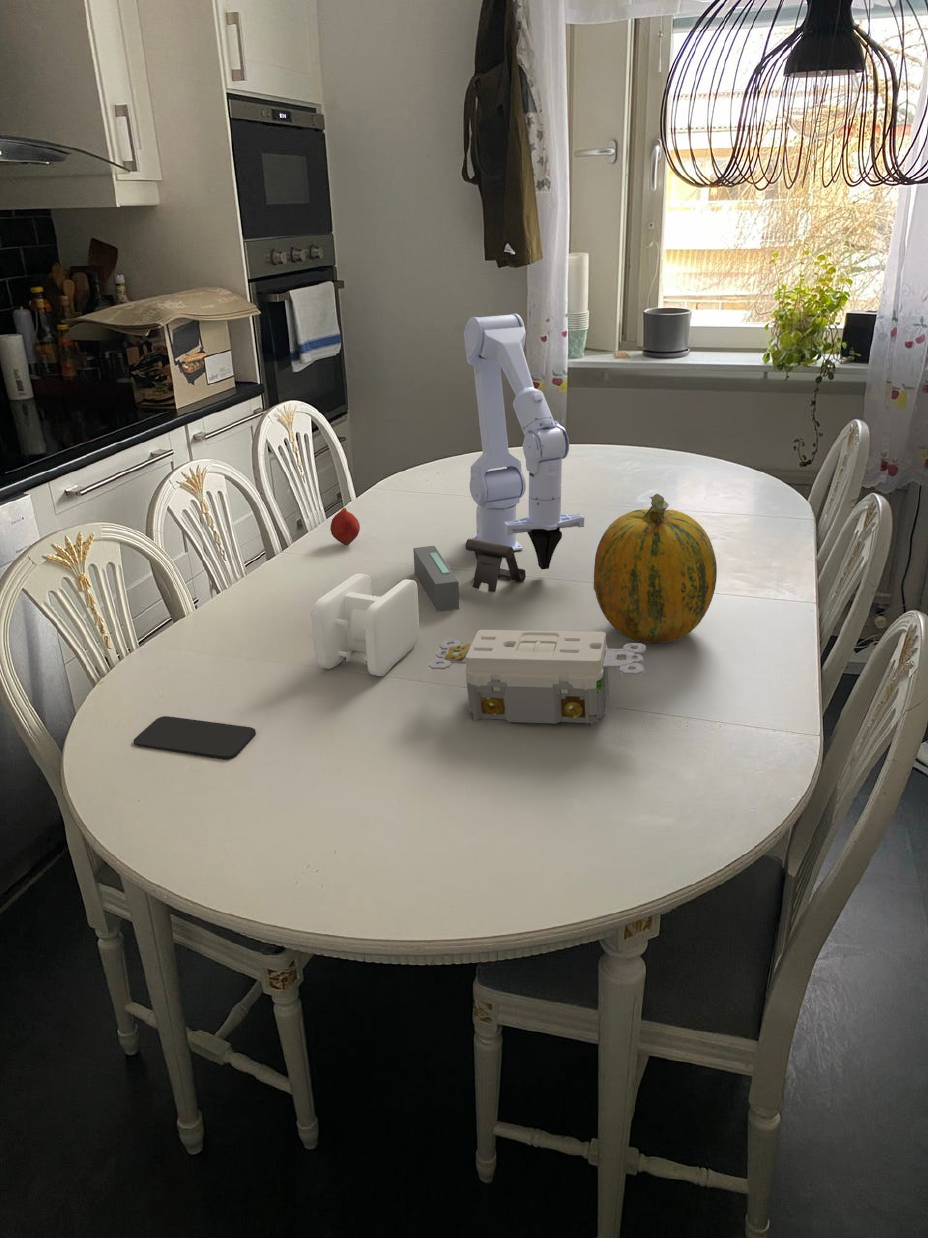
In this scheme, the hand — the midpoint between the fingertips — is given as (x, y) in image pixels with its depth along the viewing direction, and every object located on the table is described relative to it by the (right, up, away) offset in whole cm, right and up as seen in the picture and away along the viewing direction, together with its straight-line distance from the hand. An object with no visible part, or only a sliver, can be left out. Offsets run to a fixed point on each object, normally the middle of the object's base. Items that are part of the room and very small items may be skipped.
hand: (543, 567), depth 172 cm
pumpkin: (+15, -12, -21) cm, 28 cm away
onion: (-38, +5, +18) cm, 43 cm away
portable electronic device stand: (-9, -3, -1) cm, 10 cm away
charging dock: (-20, -4, -4) cm, 20 cm away
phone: (-50, -26, -47) cm, 74 cm away
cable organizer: (-29, -16, -27) cm, 43 cm away
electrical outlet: (-5, -22, -42) cm, 47 cm away
